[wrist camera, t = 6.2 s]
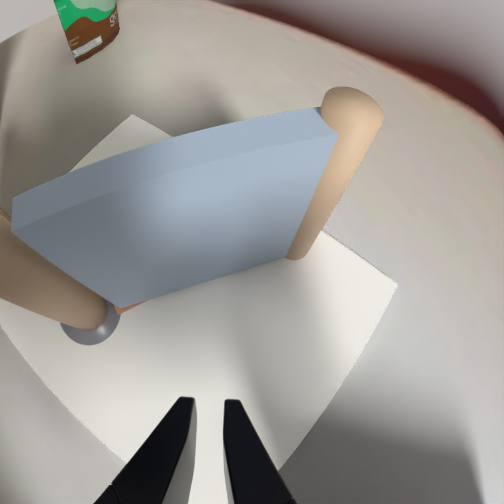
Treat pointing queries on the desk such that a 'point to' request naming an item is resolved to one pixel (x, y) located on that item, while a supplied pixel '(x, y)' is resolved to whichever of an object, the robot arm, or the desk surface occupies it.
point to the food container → (88, 25)
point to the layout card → (211, 347)
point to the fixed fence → (45, 285)
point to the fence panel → (200, 200)
